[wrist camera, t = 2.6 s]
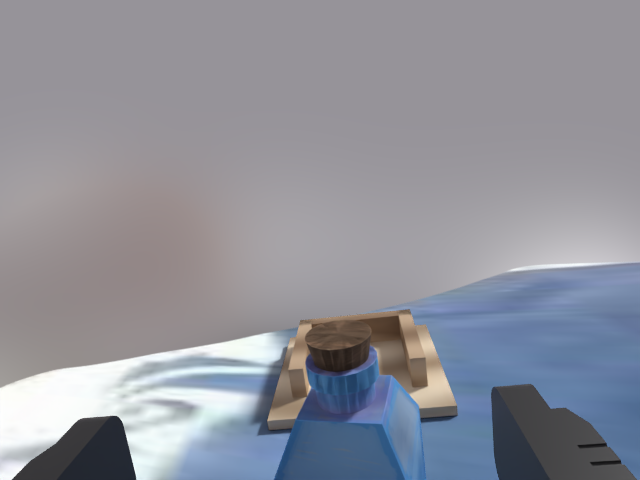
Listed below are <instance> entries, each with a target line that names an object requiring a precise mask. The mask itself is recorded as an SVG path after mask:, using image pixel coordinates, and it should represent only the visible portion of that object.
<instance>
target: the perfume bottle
mask: <svg viewBox="0 0 640 480" xmlns="http://www.w3.org/2000/svg"><path fill="white" fill-rule="evenodd" d="M370 340H371V328H370V327H369V326H368V325H367V324H365V323H363V322H360V321H356V320H335V321H330V322H325V323H323V324H320V325H317V326H315V327H314V328H312V329H310V330H309V331H308V332H307V333H306V335H305V341H306V344H307V346H308V349H309V351H310V354H309V355H308V356H307V358H306V362H305V364H306V371H307V377H308V382H309V384H310V386H311V389H310V391H309V393H308V395H307V397H306V399H305V401H304V404H303V406H302V408H301V410H300V412H299V414H298V416H297V418H296V420H295V423H294V425H293V428H292V431H291V434H290V437H289V439H288V442H287V445H286V448H285V450H284V453H283V456H282V459H281V462H280V464H279V467H278V470H277V473H276V475H275V478H274V480H426V473H425V463H424V452H423V442H422V432H421V421H420V411H419V405H418V404H417V403H416V402H415V401H414V400H413V398H412V397H411V396H410V395H409V394H408V393H407V392H406V391H405V389H404V388H403V387H402V386H401V385H400V384H399V383H398V381H397V380H396V379H395V378H394V377H393V376H392V375H379V366H378V357H377V351H376V350H375V349H374V347H372V346H370Z"/></svg>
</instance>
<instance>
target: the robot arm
mask: <svg viewBox="0 0 640 480" xmlns="http://www.w3.org/2000/svg"><path fill="white" fill-rule="evenodd" d="M491 401H492V421H493V441H494V457H495V464H496V469H497V473H498V477H499V480H637V479H636V478H635V477H634V476H633V474H632V473H631V472H630V471H629V470H628V468H627V467H626V466H625V465H622V464H621V460H620V459H619V458H618V456H617V455H616V454H615V453H614V452H613V450H612V449H611V448H610V447H607V444H606V442H605V441H604V440H603V438H602V437H601V436H600V435H599V434H598V432H597V431H596V430H595V429H594V428H593V426H592V425H591V424H590V423H589V422H587V421H585V420H584V419H582V418H581V417H579V416H577V415H576V414H574V413H573V412H571V411H570V410H568V409H566V408H556V409H550V407H549V406H548V405H547V403H546V402H545V401H544V399H543V398H542V397H541V395H540V394H539V392H538V391H537V390H536V388H535V387H534V386H533V385H531V384H525V385H512V386H500V387H493V388H492V393H491ZM12 480H136V475H135V471H134V467H133V463H132V459H131V454H130V450H129V446H128V442H127V438H126V434H125V430H124V426H123V423H122V421H121V420H120V418H119V417H117V416H106V417H93V418H82V419H80V420H78V421H77V422H76V423H75V424H74V425H73V426H72V427H71V428H70V429H69V430H68V431H67V432H66V433H65V434H64V435H63V437H62V438H61V439H60V440H59V441H58V442H57V443H56V444H55V445H53V446H52V447H50V448H49V449H47V450H46V451H44V452H43V453H41V454H40V455H39V456H37V457H36V458H34V459H33V460H31V461H30V462H29V463H28V464H27V465H26V466H25V467H24V468H23V469H22V470H21V471H20V472H19V473H18V474H17V475H16V476H15V477H14V478H13V479H12Z"/></svg>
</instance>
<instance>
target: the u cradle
mask: <svg viewBox="0 0 640 480" xmlns="http://www.w3.org/2000/svg"><path fill="white" fill-rule="evenodd" d="M335 320H356V321H360V322H363V323H365V324H367V325H368V326H369V327H370V328H371V340H370V346H372V347H374V349H375V350H376V351H377V357H378V366H379V375H392V376H393V377H394V378H395V379H396V380H397V381H398V383H399V384H400V385H401V386H402V387H403V388H404V389H405V391H406V392H407V393H408V394H409V395H410V396H411V397H412V398H413V400H414V401H415V402H416V403H417V404H418V405H419V411H420V418H429V417H441V416H454V415H458V413H457V404H456V402H455V399H454V397H453V394H452V391H451V389H450V386H449V384H448V381H447V379H446V376H445V373H444V371H443V368H442V366H441V363H440V360H439V358H438V355H437V353H436V350H435V347H434V345H433V342H432V340H431V337H430V334H429V332H428V329H427V327H426V325H417V326H415V324H414V321H413V318H412V315H411V312H410V309H409V310H399V311H389V312H379V313H370V314H360V315H350V316H340V317H330V318H321V319H311V320H301V321H300V325H299V329H298V332H297V336H296V337H294V338H290V341H289V345H288V349H287V352H286V356H285V359H284V363H283V366H282V370H281V374H280V377H279V381H278V384H277V388H276V391H275V395H274V399H273V402H272V406H271V409H270V413H269V416H268V420H267V422H268V428H269V430H278V429H290V428H293V425H294V423H295V420H296V418H297V416H298V414H299V412H300V410H301V408H302V406H303V404H304V401H305V399H306V397H307V395H308V393H309V391H310V389H311V386H310V384H309V382H308V377H307V371H306V364H305V362H306V358H307V356H308V355H309V354H310V351H309V349H308V346H307V344H306V341H305V335H306V333H307V332H308V331H309V330H310V329H312V328H314V327H315V326H317V325H320V324H323V323H325V322H330V321H335Z"/></svg>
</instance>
